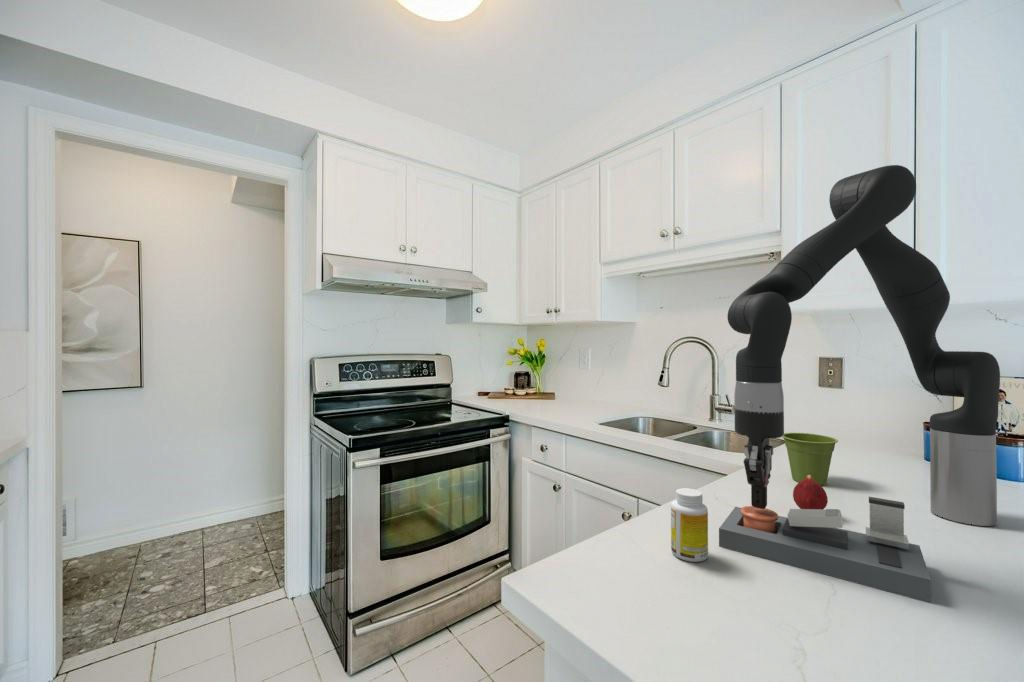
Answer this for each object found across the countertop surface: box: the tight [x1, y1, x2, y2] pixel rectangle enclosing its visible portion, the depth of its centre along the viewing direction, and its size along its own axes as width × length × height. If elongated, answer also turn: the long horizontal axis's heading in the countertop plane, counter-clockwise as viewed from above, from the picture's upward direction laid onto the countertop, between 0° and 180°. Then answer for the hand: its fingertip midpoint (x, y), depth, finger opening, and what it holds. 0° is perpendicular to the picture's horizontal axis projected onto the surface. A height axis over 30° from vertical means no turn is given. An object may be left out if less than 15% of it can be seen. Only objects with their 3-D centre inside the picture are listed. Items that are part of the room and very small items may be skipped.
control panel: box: [718, 506, 932, 604], centre depth 71 cm, size 13×26×4 cm, turn 52°
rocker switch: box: [787, 508, 844, 529], centre depth 71 cm, size 4×7×2 cm, turn 52°
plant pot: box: [781, 432, 839, 486], centre depth 110 cm, size 12×12×11 cm
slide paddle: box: [865, 496, 909, 549], centre depth 68 cm, size 4×5×6 cm
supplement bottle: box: [670, 487, 709, 563], centre depth 70 cm, size 6×6×10 cm
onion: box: [792, 475, 829, 510], centre depth 87 cm, size 6×6×8 cm
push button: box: [740, 505, 779, 534], centre depth 76 cm, size 6×6×4 cm
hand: (759, 506), depth 76 cm, fingers closed
